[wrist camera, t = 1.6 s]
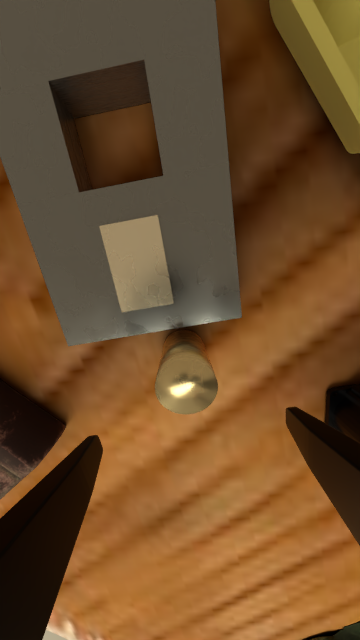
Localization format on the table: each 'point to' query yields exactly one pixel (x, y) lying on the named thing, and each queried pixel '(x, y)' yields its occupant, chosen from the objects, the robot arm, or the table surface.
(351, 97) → the plastic component
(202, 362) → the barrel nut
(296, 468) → the table surface
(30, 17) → the flange plate
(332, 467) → the robot arm
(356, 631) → the rose bouquet
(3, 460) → the diary
